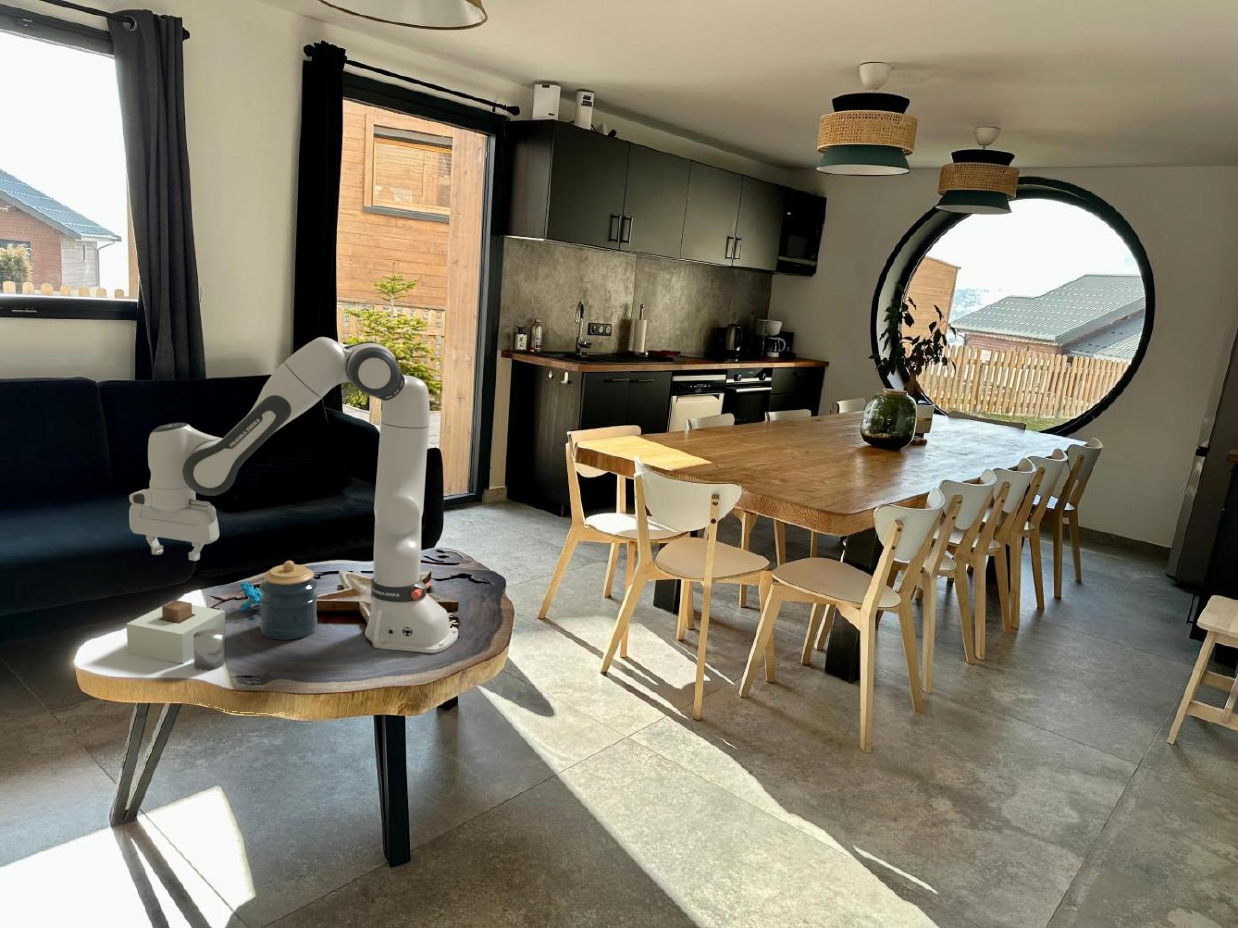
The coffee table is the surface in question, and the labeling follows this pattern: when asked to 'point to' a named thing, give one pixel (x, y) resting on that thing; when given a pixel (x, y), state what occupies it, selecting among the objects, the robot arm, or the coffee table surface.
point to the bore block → (171, 634)
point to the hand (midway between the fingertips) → (175, 556)
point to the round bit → (208, 649)
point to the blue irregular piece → (250, 595)
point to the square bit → (177, 611)
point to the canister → (288, 602)
